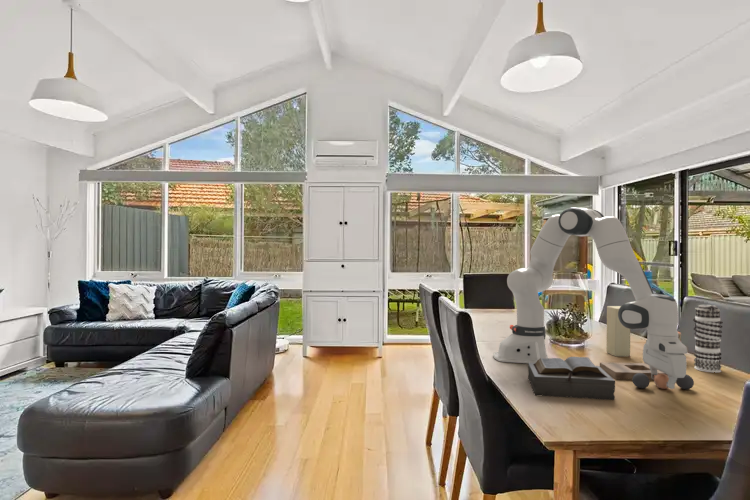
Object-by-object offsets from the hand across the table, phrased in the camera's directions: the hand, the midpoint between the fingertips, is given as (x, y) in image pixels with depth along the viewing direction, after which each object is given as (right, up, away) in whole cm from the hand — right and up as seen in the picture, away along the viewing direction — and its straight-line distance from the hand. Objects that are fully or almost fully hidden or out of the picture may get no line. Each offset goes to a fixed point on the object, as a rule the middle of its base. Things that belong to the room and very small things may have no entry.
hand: (662, 383), depth 151 cm
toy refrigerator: (+11, -2, +48) cm, 50 cm away
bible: (-32, -2, 0) cm, 32 cm away
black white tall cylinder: (+32, -2, +23) cm, 40 cm away
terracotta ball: (0, +1, 0) cm, 1 cm away
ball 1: (-7, +1, +1) cm, 7 cm away
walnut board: (+2, -2, +17) cm, 17 cm away
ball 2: (+7, +1, -1) cm, 7 cm away
